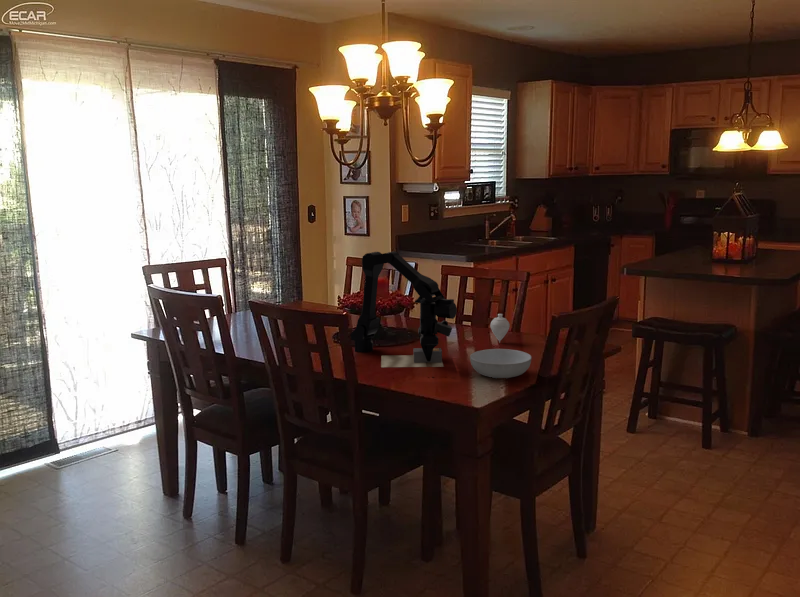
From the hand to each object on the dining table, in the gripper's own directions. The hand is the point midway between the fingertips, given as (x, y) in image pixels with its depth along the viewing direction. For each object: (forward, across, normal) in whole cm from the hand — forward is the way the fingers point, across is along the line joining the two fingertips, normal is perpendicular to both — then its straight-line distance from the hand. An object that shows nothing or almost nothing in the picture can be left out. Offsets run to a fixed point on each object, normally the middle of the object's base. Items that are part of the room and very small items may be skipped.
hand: (428, 358), depth 262 cm
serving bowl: (+3, -14, -24) cm, 28 cm away
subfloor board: (+2, 0, +6) cm, 6 cm away
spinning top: (+3, +32, -31) cm, 45 cm away
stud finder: (+1, 0, 0) cm, 1 cm away
